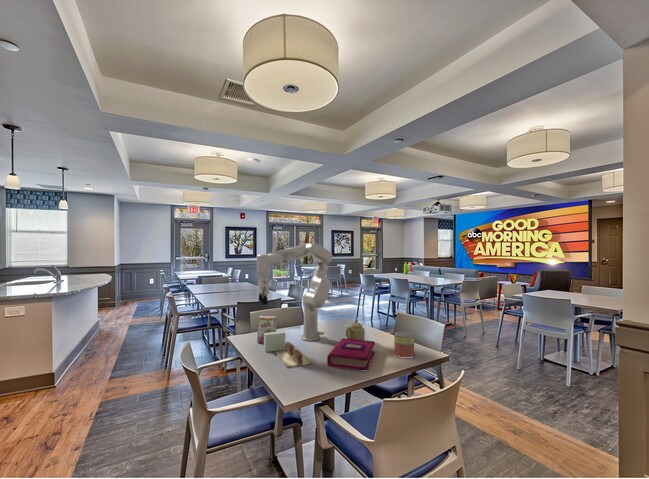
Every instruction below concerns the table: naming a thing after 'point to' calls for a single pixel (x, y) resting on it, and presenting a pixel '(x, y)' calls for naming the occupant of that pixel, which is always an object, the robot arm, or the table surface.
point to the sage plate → (274, 341)
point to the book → (351, 354)
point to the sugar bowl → (355, 331)
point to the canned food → (404, 344)
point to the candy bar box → (266, 326)
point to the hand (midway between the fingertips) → (262, 302)
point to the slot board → (293, 357)
